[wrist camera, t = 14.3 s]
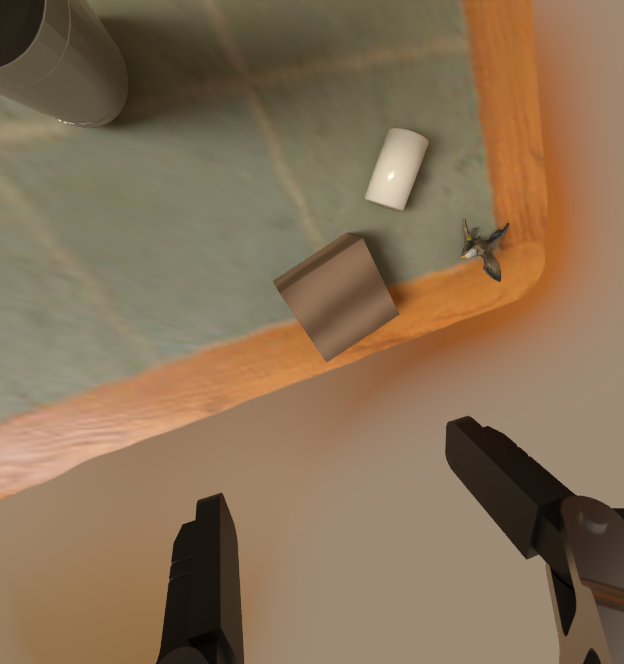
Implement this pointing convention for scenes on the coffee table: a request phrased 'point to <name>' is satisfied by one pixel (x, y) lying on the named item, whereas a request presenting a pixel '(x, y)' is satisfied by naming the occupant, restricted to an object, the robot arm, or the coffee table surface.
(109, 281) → the coffee table surface
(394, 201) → the ceramic capsule
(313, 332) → the walnut block
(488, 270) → the eagle figurine
